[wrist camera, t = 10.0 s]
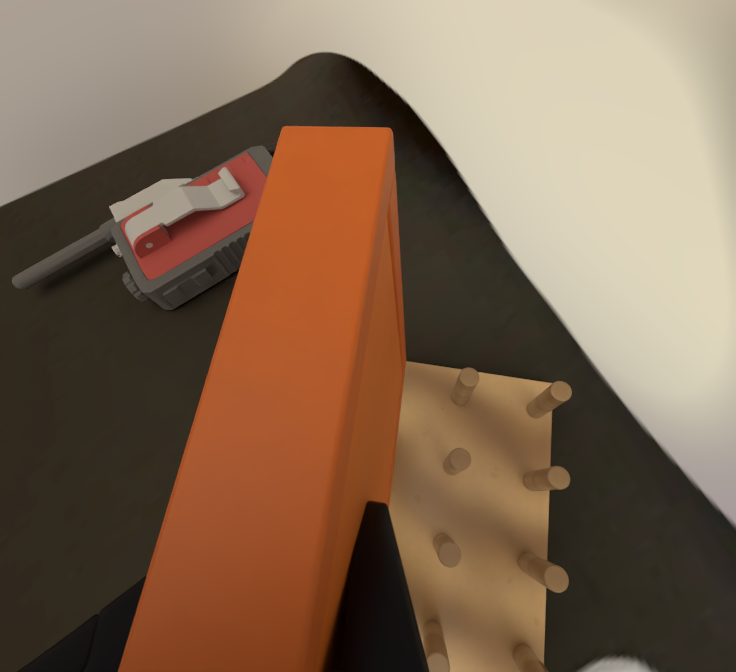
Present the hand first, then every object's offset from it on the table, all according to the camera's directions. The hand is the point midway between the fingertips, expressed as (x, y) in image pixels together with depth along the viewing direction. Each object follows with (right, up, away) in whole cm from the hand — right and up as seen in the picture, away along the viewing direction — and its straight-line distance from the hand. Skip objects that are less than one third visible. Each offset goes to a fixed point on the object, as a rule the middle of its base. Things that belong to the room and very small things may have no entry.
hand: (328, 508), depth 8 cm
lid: (+1, -2, +6) cm, 7 cm away
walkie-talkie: (-12, +9, +20) cm, 25 cm away
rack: (+3, -5, +12) cm, 14 cm away
